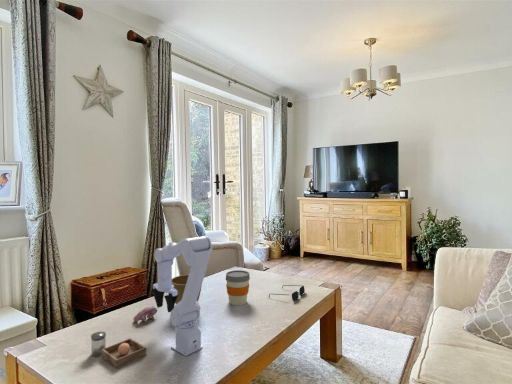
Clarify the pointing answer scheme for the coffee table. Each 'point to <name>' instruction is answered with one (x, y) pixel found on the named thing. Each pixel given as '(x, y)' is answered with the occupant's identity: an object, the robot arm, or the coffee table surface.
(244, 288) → the reusable coffee cup
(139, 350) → the tray
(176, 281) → the plant pot
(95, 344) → the shaker
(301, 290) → the sunglasses
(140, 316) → the video game controller
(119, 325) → the coffee table surface
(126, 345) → the ball
